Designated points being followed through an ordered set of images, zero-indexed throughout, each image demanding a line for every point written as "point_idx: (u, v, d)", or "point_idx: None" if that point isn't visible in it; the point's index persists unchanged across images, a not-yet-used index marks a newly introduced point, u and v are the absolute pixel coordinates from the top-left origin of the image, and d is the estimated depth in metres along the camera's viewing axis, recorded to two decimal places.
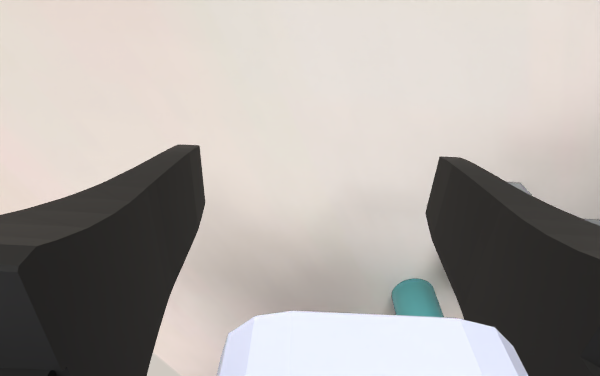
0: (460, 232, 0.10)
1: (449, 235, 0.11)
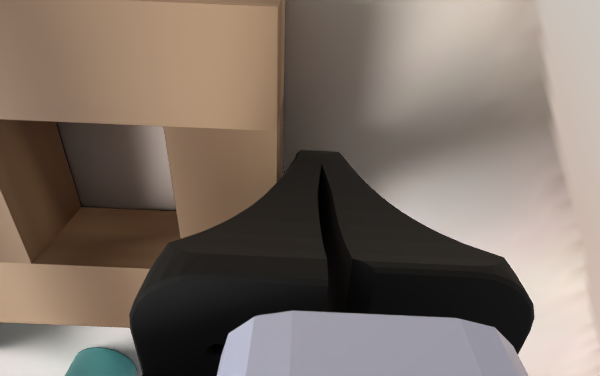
0: (321, 226, 0.10)
1: None
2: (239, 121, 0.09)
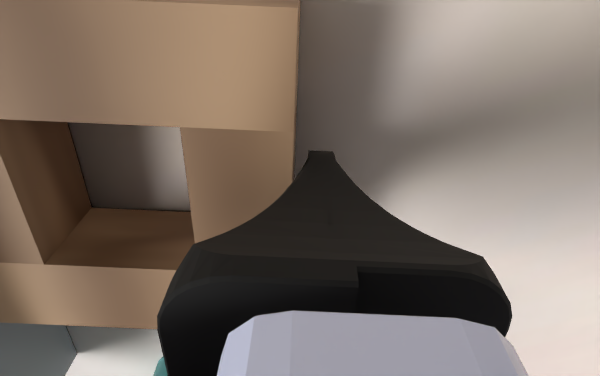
0: None
1: None
2: (256, 122, 0.09)
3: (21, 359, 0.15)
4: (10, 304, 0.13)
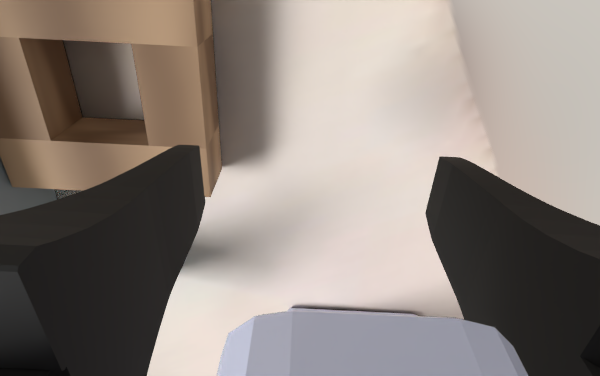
0: (460, 232, 0.10)
1: (449, 235, 0.11)
2: (175, 40, 0.16)
3: None
4: (28, 172, 0.19)
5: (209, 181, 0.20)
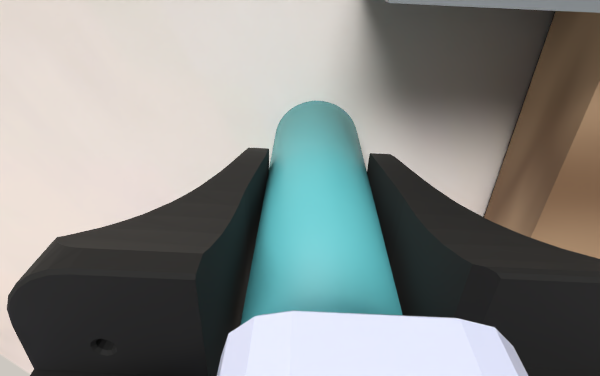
0: None
1: None
2: None
3: None
4: None
5: None
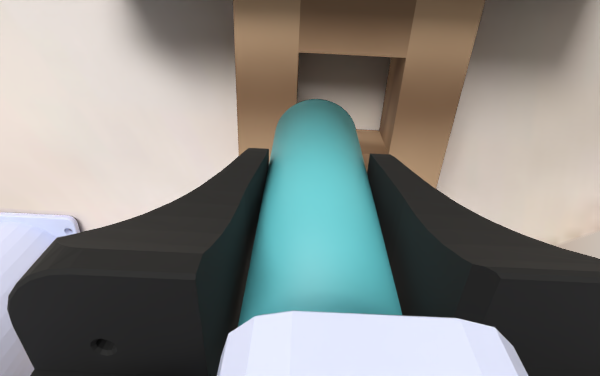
0: None
1: None
2: None
3: None
4: (255, 8, 0.16)
5: None
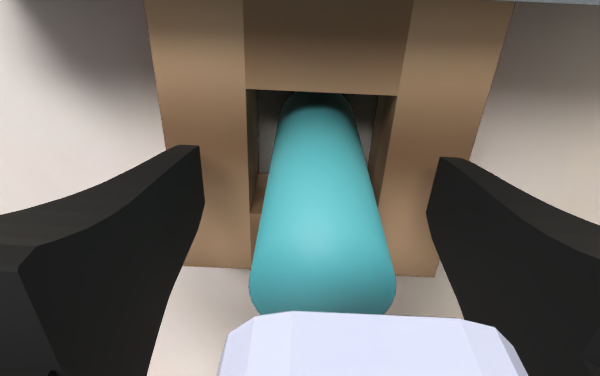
0: (460, 232, 0.10)
1: (449, 235, 0.11)
2: None
3: None
4: (179, 28, 0.11)
5: (205, 265, 0.16)
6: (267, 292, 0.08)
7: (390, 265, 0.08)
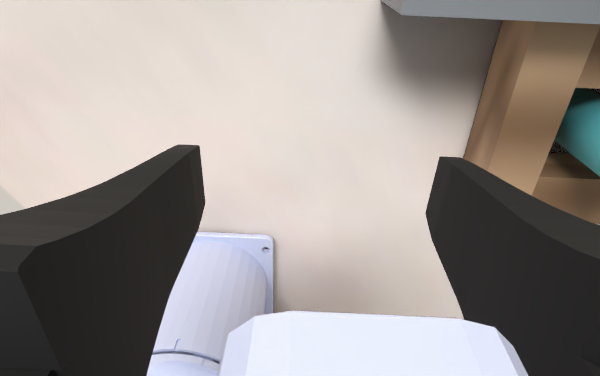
0: (460, 232, 0.10)
1: (449, 235, 0.11)
2: None
3: None
4: (548, 47, 0.17)
5: None
6: None
7: None
